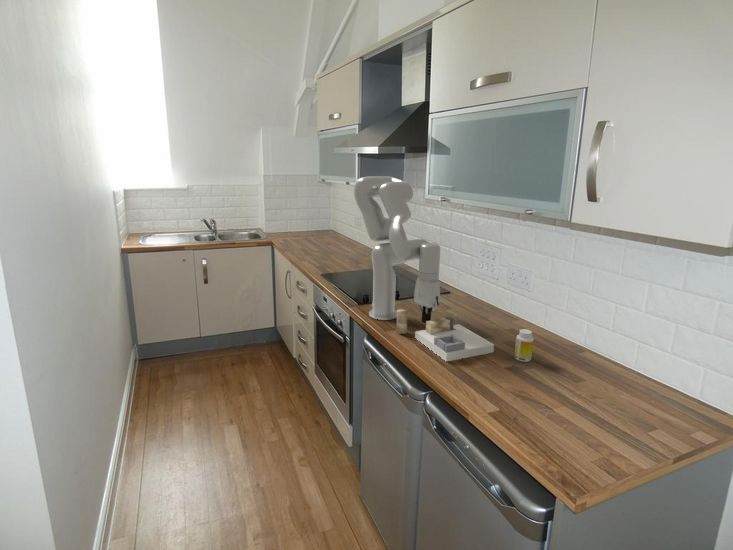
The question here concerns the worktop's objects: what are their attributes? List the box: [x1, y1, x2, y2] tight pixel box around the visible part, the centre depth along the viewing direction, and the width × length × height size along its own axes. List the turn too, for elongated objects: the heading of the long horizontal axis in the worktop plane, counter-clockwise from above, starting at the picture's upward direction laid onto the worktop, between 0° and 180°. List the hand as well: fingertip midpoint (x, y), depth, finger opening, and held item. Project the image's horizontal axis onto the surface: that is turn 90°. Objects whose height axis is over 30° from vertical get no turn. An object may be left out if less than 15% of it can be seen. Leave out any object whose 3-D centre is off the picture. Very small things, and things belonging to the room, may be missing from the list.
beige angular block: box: [425, 316, 455, 334], centre depth 169 cm, size 12×3×4 cm, turn 119°
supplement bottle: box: [513, 328, 535, 363], centre depth 153 cm, size 6×6×10 cm
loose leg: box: [395, 308, 409, 335], centre depth 173 cm, size 4×4×9 cm
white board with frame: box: [414, 323, 495, 362], centre depth 163 cm, size 21×20×6 cm
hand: (426, 321), depth 172 cm, fingers closed
